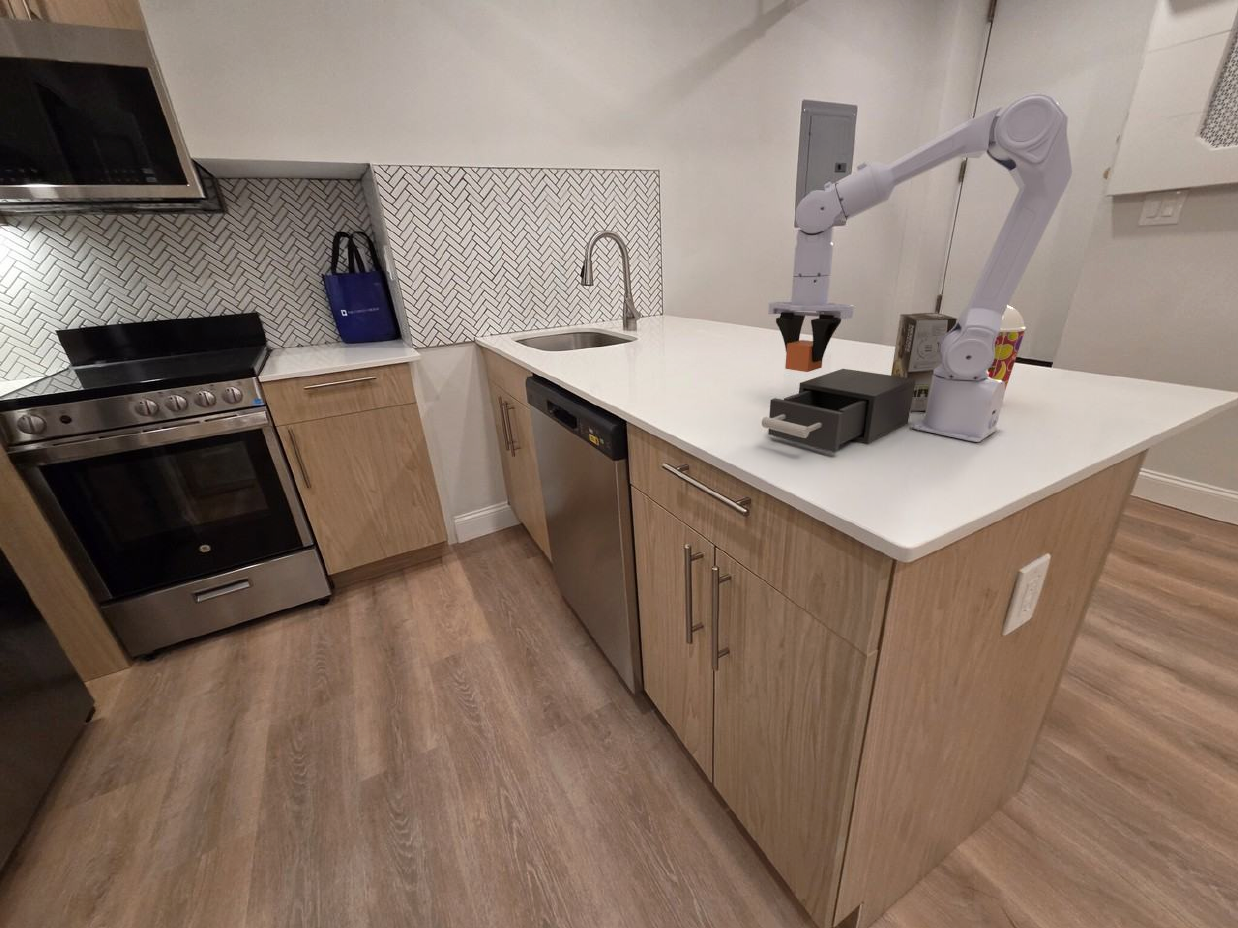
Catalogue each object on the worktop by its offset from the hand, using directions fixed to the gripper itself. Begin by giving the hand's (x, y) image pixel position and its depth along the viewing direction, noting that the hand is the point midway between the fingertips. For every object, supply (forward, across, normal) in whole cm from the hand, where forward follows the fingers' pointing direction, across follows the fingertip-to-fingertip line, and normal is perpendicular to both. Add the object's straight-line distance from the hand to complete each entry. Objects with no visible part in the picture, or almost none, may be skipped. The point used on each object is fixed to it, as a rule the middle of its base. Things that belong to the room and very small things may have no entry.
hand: (804, 359), depth 87 cm
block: (+2, 0, 0) cm, 2 cm away
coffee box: (+11, +11, +20) cm, 25 cm away
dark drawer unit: (+10, +9, +2) cm, 14 cm away
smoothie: (+11, +19, +29) cm, 36 cm away
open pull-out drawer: (+9, +9, -10) cm, 17 cm away
